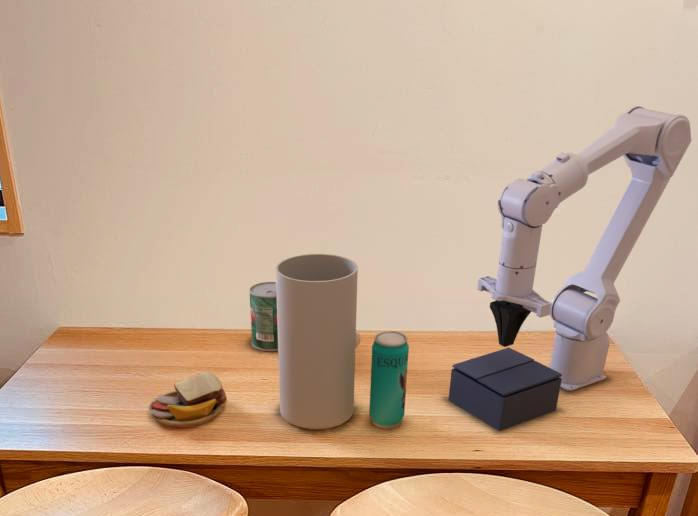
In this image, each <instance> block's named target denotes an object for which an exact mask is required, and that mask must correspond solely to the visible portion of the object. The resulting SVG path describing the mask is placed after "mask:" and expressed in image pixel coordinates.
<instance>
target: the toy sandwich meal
mask: <svg viewBox="0 0 698 516" xmlns="http://www.w3.org/2000/svg"><path fill="white" fill-rule="evenodd" d="M173 388H174V390H171V391H167V392H164V393H161V394H160V395H158V396H156V397H155V398H153V400H151V402H150V403H149V405H148V406H147V407H148V408H147V410H148V414H149V415H150V416H151V417H152V418H153V419H154V420H155V421H157V422H158V423H160V424H163V425H165V426H168V427H172V428H189V427H190V428H191V427H196V426H199V425H203V424H205V423H207V422H209V421H211V420H212V419H213V418H214V417H216V415H217V414H219V412H220V411H221V409H222V407H223V406H222V405H223V404H225V403H226V402H227V394H226V391H225V390H224V388H223V384H222V381H221V380H220V378H219V377H218V376H216V375H215V374H214V373H212V372H209V371H202V372H200V373H198V374H196V375H194V376H191V377H188V378H184V379H183V380H180V381H177V382H175V383H174V384H173Z"/></svg>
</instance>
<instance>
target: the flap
mask: <svg viewBox="0 0 698 516" xmlns="http://www.w3.org/2000/svg"><path fill="white" fill-rule="evenodd" d="M532 361H535V359H534V358H532V357H530V356H528V355H526V354H524V353H521V352H519V351H517V350H516V349H513V348H511V347H510V346H507V347H504V348H502V349H499V350H496V351H492V352H489V353H486V354H482V355H479V356H475V357H473V358H470V359H467V360H464V361H460V362H456V363H454V364H452V366H451V367H452V369H454V368H455V369H457V370H459V371H461V372H463V373H465V374H467V375H469V376H470V377H472V378H474V379H476V380H478V379H480V378H483V377H486V376H489V375H492V374H495V373H498V372H502V371H505V370H508V369H511V368H514V367H517V366H520V365H523V364H526V363H529V362H532Z"/></svg>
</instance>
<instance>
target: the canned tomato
mask: <svg viewBox="0 0 698 516" xmlns="http://www.w3.org/2000/svg"><path fill="white" fill-rule="evenodd" d="M248 293H249V309H250V328H251V329H250V330H251V331H250V332H251V346H252V347H253V348H254V349H256V350H258V351H263V352H278V328H277V295H276V281H263V282H259V283H256V284H253V285H251V286H250V287H249V290H248Z"/></svg>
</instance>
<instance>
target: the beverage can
mask: <svg viewBox="0 0 698 516" xmlns="http://www.w3.org/2000/svg"><path fill="white" fill-rule="evenodd" d="M373 339H374V341H373V343H372V345H371V365H370V388H369V417H370V419H371V422H372V424H373V425H374V426H375V427H377V428H379V429H383V430H385V429H386V430H387V429H389V430H390V429H395V428H397V427H398V426H399V425H401V422H402V420H403V418H404V416H405V409H406V408H405V407H406V393H407V379H408V366H409V364H408V363H409V353H410V352H409V350H410V345H409V344H408V336H407V335H406V334H405V333H403V332H400V331H395V330H386V331H382V332H378V333H376V334H375V336H374V337H373Z"/></svg>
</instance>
